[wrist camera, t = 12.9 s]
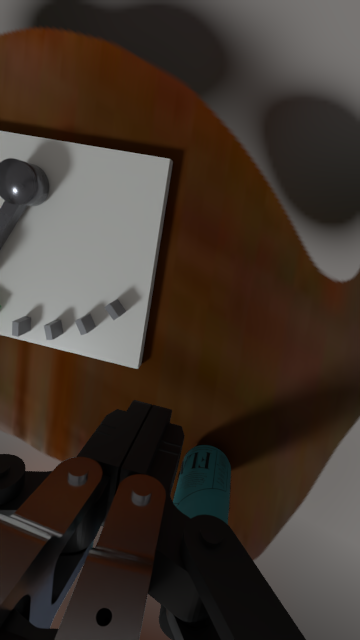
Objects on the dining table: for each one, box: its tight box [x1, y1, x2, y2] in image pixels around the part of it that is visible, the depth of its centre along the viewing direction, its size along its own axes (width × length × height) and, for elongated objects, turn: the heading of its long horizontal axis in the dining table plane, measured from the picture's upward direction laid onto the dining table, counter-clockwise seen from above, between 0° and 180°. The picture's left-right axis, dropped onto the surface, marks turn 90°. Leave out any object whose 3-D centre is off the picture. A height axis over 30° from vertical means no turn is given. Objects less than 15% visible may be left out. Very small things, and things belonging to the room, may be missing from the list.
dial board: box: [0, 131, 173, 369], centre depth 39 cm, size 24×30×4 cm
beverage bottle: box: [159, 445, 232, 640], centre depth 35 cm, size 6×7×20 cm
